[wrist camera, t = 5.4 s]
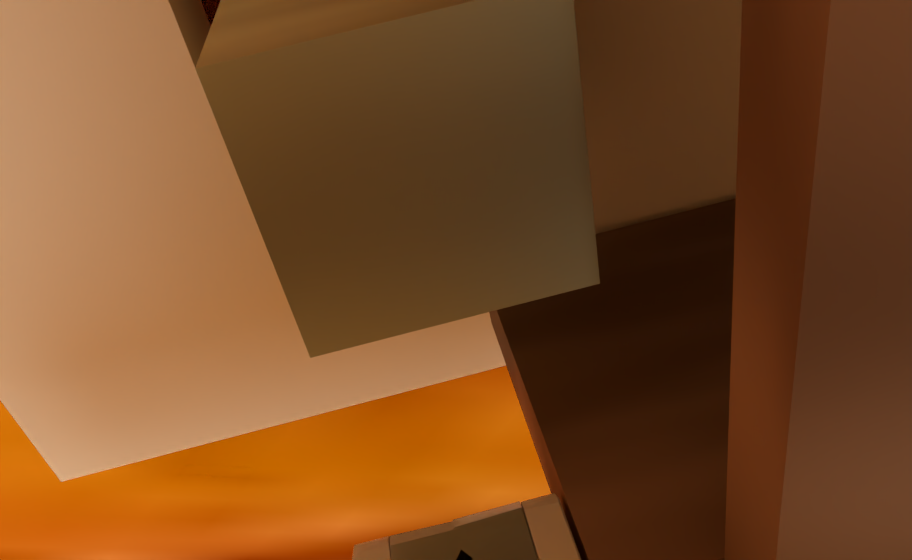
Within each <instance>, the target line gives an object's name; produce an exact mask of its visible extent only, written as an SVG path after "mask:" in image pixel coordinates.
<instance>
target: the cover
mask: <svg viewBox="0 0 912 560" xmlns="http://www.w3.org/2000/svg"><path fill="white" fill-rule="evenodd" d="M595 235H596V245H597V256H598V267H599V277H600V284H596V285H592V286H588V287H584V288H581V289H577V290H573V291H569V292H565V293H561V294H557V295H553V296H549V297H546V298H542V299H538V300H534V301H530V302H526V303H522V304H518V305H514V306H511V307H507V308H503V309H499V310H495V311H491V312H489V313H490V318H491V323H492V326H493V329H494V331H495V334H496V337H497V340H498V343H499V346H500V349H501V351H502V354H503V357H504V360H505V363H506V366H507V368H508V371H509V374H510V377H511V380H512V383H513V385H514V388H515V391H516V394H517V397H518V400H519V402H520V405H521V408H522V411H523V414H524V417H525V419H526V422H527V425H528V428H529V431H530V434H531V437H532V439H533V442H534V445H535V448H536V451H537V454H538V456H539V459H540V462H541V465H542V468H543V471H544V473H545V476H546V479H547V482H548V485H549V488H550V490H551V493H555V494H556V495H557V497H558V498H559V499H560V502H561V505H562V507H563V510H564V513H565V516H566V518H567V521H568V524H569V527H570V530H571V532H572V535H573V538H574V541H575V543H576V546H577V549H578V552H579V554H580V557H581V560H912V0H742V17H741V49H740V81H739V112H738V144H737V176H736V198H734V199H731V200H727V201H723V202H719V203H715V204H711V205H707V206H703V207H699V208H695V209H691V210H688V211H684V212H680V213H676V214H672V215H668V216H664V217H660V218H656V219H652V220H648V221H645V222H641V223H637V224H633V225H629V226H625V227H621V228H617V229H613V230H609V231H605V232H602V233H598V234H595Z"/></svg>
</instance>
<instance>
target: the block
mask: <svg viewBox="0 0 912 560" xmlns="http://www.w3.org/2000/svg"><path fill="white" fill-rule="evenodd" d="M195 69H196V72H197V74H198V77H199V79H200V82H201V84H202V87H203V89H204V92H205V94H206V97H207V99H208V102H209V104H210V107H211V109H212V112H213V114H214V117H215V119H216V122H217V124H218V127H219V129H220V132H221V135H222V137H223V140H224V142H225V145H226V147H227V150H228V152H229V155H230V157H231V160H232V162H233V165H234V167H235V170H236V172H237V175H238V177H239V180H240V182H241V185H242V187H243V190H244V192H245V195H246V197H247V200H248V202H249V205H250V207H251V210H252V213H253V215H254V218H255V220H256V223H257V225H258V228H259V230H260V233H261V235H262V238H263V240H264V243H265V245H266V248H267V250H268V253H269V255H270V258H271V260H272V263H273V265H274V268H275V270H276V273H277V275H278V278H279V280H280V283H281V285H282V288H283V291H284V293H285V296H286V298H287V301H288V303H289V306H290V308H291V311H292V313H293V316H294V318H295V321H296V323H297V326H298V328H299V331H300V333H301V336H302V338H303V341H304V343H305V346H306V348H307V351H308V353H309V356H310V358H312V357H316V356H320V355H324V354H328V353H332V352H336V351H340V350H343V349H347V348H351V347H355V346H359V345H363V344H367V343H371V342H374V341H378V340H382V339H386V338H390V337H394V336H398V335H402V334H406V333H409V332H413V331H417V330H421V329H425V328H429V327H433V326H437V325H441V324H444V323H448V322H452V321H456V320H460V319H464V318H468V317H472V316H476V315H479V314H483V313H487V312H491V311H495V310H499V309H503V308H507V307H511V306H514V305H518V304H522V303H526V302H530V301H534V300H538V299H542V298H546V297H549V296H553V295H557V294H561V293H565V292H569V291H573V290H577V289H581V288H584V287H588V286H592V285H596V284H600V277H599V267H598V256H597V245H596V235H595V224H594V214H593V203H592V192H591V182H590V171H589V160H588V150H587V139H586V128H585V118H584V107H583V96H582V86H581V75H580V65H579V54H578V43H577V33H576V22H575V11H574V1H573V0H221V1H220V3H219V6H218V9H217V11H216V14H215V17H214V19H213V22H212V25H211V27H210V30H209V33H208V35H207V38H206V41H205V43H204V46H203V49H202V51H201V54H200V57H199V59H198V62H197V65H196V67H195Z"/></svg>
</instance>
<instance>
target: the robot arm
mask: <svg viewBox="0 0 912 560" xmlns="http://www.w3.org/2000/svg"><path fill="white" fill-rule="evenodd" d="M352 560H581V557H580V554H579V552H578V549H577V546H576V543H575V541H574V538H573V535H572V532H571V530H570V527H569V524H568V521H567V518H566V516H565V513H564V510H563V507H562V505H561V502H560V499H559V498H558V497H557V495H556V494H555V493H552V494H549V495H545V496H541V497H538V498H534V499H531V500H527V501H523V502H521V504H520V502H516V503H512V504H508V505H505V506H501V507H498V508H494V509H490V510H487V511H483V512H480V513H476V514H472V515H469V516H465V517H462V518H458V519H454V520H453V521H452V522H448V523H444V524H439V525H435V526H431V527H427V528H422V529H418V530H414V531H410V532H405V533H401V534H397V535H392V536H388V537H384V538H380V539H376V540H372V541H368V542H364V543H360V544H357V545H354V549H353V556H352Z"/></svg>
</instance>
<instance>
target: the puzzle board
mask: <svg viewBox="0 0 912 560" xmlns="http://www.w3.org/2000/svg"><path fill="white" fill-rule="evenodd" d="M573 1H574V11H575V22H576V33H577V43H578V54H579V65H580V75H581V86H582V96H583V107H584V118H585V128H586V139H587V150H588V160H589V171H590V182H591V192H592V203H593V214H594V224H595V234H598V233H602V232H605V231H609V230H613V229H617V228H621V227H625V226H629V225H633V224H637V223H641V222H645V221H648V220H652V219H656V218H660V217H664V216H668V215H672V214H676V213H680V212H684V211H688V210H691V209H695V208H699V207H703V206H707V205H711V204H715V203H719V202H723V201H727V200H731V199H734V198H736V176H737V144H738V112H739V81H740V49H741V17H742V0H573ZM210 27H211V26H210V23H209V20H208V18H207V15H206V12H205V10H204V7H203V4H202V1H201V0H0V400H1V402H2V403H3V404H4V406H5V407H6V409H7V410H8V411H9V413H10V414H11V415H12V417H13V418H14V419H15V421H16V422H17V423H18V425H19V426H20V427H21V429H22V430H23V431H24V433H25V434H26V435H27V437H28V438H29V439H30V441H31V442H32V443H33V445H34V446H35V447H36V449H37V450H38V451H39V453H40V454H41V455H42V457H43V458H44V459H45V461H46V462H47V463H48V465H49V466H50V467H51V469H52V470H53V471H54V473H55V474H56V475H57V477H58V478H59V479H60V481H61V482H62V481H66V480H70V479H73V478H77V477H81V476H85V475H89V474H93V473H96V472H100V471H104V470H108V469H112V468H116V467H119V466H123V465H127V464H131V463H135V462H139V461H142V460H146V459H150V458H154V457H158V456H162V455H165V454H169V453H173V452H177V451H181V450H185V449H188V448H192V447H196V446H200V445H204V444H208V443H211V442H215V441H219V440H223V439H227V438H230V437H234V436H238V435H242V434H246V433H250V432H253V431H257V430H261V429H265V428H269V427H273V426H276V425H280V424H284V423H288V422H292V421H296V420H299V419H303V418H307V417H311V416H315V415H319V414H322V413H326V412H330V411H334V410H338V409H342V408H345V407H349V406H353V405H357V404H361V403H364V402H368V401H372V400H376V399H380V398H384V397H387V396H391V395H395V394H399V393H403V392H407V391H410V390H414V389H418V388H422V387H426V386H430V385H433V384H437V383H441V382H445V381H449V380H453V379H456V378H460V377H464V376H468V375H472V374H476V373H479V372H483V371H487V370H491V369H495V368H499V367H502V366H506V363H505V360H504V357H503V354H502V351H501V349H500V346H499V343H498V340H497V337H496V334H495V331H494V329H493V326H492V323H491V318H490V313H489V312H487V313H483V314H479V315H476V316H472V317H468V318H464V319H460V320H456V321H452V322H448V323H444V324H441V325H437V326H433V327H429V328H425V329H421V330H417V331H413V332H409V333H406V334H402V335H398V336H394V337H390V338H386V339H382V340H378V341H374V342H371V343H367V344H363V345H359V346H355V347H351V348H347V349H343V350H340V351H336V352H332V353H328V354H324V355H320V356H316V357H312V358H310V356H309V353H308V351H307V348H306V346H305V343H304V341H303V338H302V336H301V333H300V331H299V328H298V326H297V323H296V321H295V318H294V316H293V313H292V311H291V308H290V306H289V303H288V301H287V298H286V296H285V293H284V291H283V288H282V285H281V283H280V280H279V278H278V275H277V273H276V270H275V268H274V265H273V263H272V260H271V258H270V255H269V253H268V250H267V248H266V245H265V243H264V240H263V238H262V235H261V233H260V230H259V228H258V225H257V223H256V220H255V218H254V215H253V213H252V210H251V207H250V205H249V202H248V200H247V197H246V195H245V192H244V190H243V187H242V185H241V182H240V180H239V177H238V175H237V172H236V170H235V167H234V165H233V162H232V160H231V157H230V155H229V152H228V150H227V147H226V145H225V142H224V140H223V137H222V135H221V132H220V129H219V127H218V124H217V122H216V119H215V117H214V114H213V112H212V109H211V107H210V104H209V102H208V99H207V97H206V94H205V92H204V89H203V87H202V84H201V82H200V79H199V77H198V74H197V72H196V69H195V67H196V65H197V62H198V59H199V57H200V54H201V51H202V49H203V46H204V43H205V41H206V38H207V35H208V33H209V30H210Z"/></svg>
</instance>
